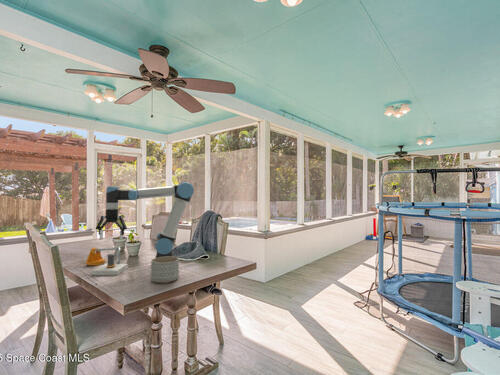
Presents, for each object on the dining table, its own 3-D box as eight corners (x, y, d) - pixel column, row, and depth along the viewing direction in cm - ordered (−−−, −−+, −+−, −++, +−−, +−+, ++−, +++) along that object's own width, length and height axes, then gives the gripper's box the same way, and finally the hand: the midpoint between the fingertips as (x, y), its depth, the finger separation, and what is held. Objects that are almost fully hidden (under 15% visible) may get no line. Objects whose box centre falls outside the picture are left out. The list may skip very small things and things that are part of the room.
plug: (116, 270, 183) (116, 253, 183) (112, 272, 178) (112, 255, 178) (109, 270, 183) (109, 253, 183) (105, 272, 178) (105, 255, 178)
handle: (119, 267, 190) (119, 247, 190) (94, 269, 183) (94, 249, 184) (119, 266, 192) (120, 247, 192) (94, 268, 186) (95, 248, 186)
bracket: (90, 266, 192) (91, 250, 192) (86, 265, 196) (86, 248, 196) (105, 263, 200) (106, 247, 201) (101, 262, 205) (101, 246, 205)
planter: (151, 285, 154) (152, 264, 154) (150, 277, 169) (150, 257, 169) (180, 282, 160) (180, 261, 161) (176, 274, 175) (176, 255, 176)
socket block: (127, 268, 189) (127, 263, 189) (116, 275, 173) (117, 270, 173) (105, 268, 188) (105, 263, 188) (92, 275, 172) (92, 270, 172)
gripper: (132, 208, 185) (131, 238, 185) (96, 208, 185) (95, 238, 184) (127, 209, 178) (127, 240, 178) (90, 208, 177) (89, 240, 177)
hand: (111, 239), depth 181 cm, fingers open, 13 cm apart
